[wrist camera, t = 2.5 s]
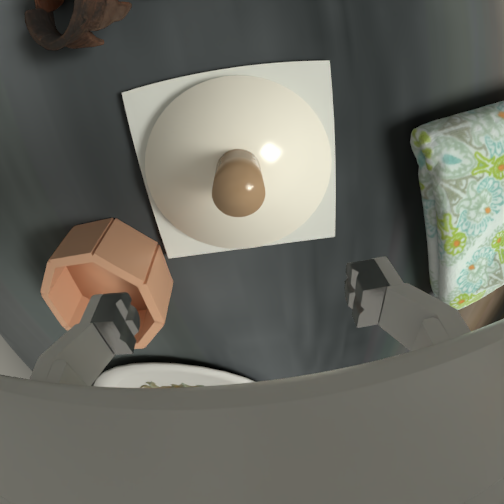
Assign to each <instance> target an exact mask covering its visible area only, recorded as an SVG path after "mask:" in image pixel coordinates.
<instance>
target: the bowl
mask: <svg viewBox="0 0 504 504" xmlns="http://www.w3.org/2000/svg"><path fill="white" fill-rule="evenodd" d="M157 244H158V242H156V241H154V240H153V239H151V238H149V237H147V236H146V235H144V234H142V233H140V232H139V231H137V230H135V229H134V228H132V227H130V226H128V225H127V224H125V223H123V222H122V221H120V220H118V219H117V218H116V219H115V220H114V219H113V218H109V219H104V220H99V221H94V222H90V223H85V224H81V225H76V226H74V227H73V228H72V229H71V230H70V231H69V233H68V234H67V235H66V237H65V238H64V239H63V241H62V242H61V243H60V245H59V246H58V247H57V249H56V250H55V252H54V253H53V254H52V256H51V257H50V259H49V260H48V262H47V266H46V270H45V274H44V278H43V283H42V287H41V292H40V293H42V294H41V295H42V297H43V299H44V300H45V302H46V303H47V305H48V306H49V308H50V309H51V311H52V312H53V314H54V315H55V317H56V318H57V319H58V321H59V322H60V324H61V325H62V326H63V327H65V329H66V330H70V329H71V328H72V327H73V326H74V325H75V324H79V323H80V320H81V318H82V316H83V314H84V311H85V309H86V307H87V305H88V303H89V301H90V298H91V296H93V295H97V294H107V293H120V292H126V293H128V294H129V295H130V297H131V299H132V301H131V305H132V306H134V307H135V308H136V309H137V311H138V313H139V317H140V328H139V332H138V333H137V334H136V335H135V336H134V337H135V339H136V344H135V348H134V349H143V347H144V348H145V347H146V346H147V345H148V344H149V342H150V341H151V340H152V339H153V338H154V336H155V335H156V334H157V333H158V332H159V330H160V329H161V328H162V327H163V326H164V324H165V319H166V314H167V309H168V305H169V300H170V295H171V291H172V286H173V280H172V278H171V275H170V272H169V269H168V267H167V264H166V261H165V258H164V255H163V253H162V250H161V247H160V245H157Z"/></svg>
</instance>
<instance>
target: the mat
mask: <svg viewBox="0 0 504 504" xmlns="http://www.w3.org/2000/svg"><path fill="white" fill-rule="evenodd" d="M231 75H247V76H255V77H260V78H264V79H267V80H270V81H273V82H276V83H278V84H280V85H282V86H284V87H286V88H288V89H290V90H291V91H293V92H294V93H296V94H297V95H298V96H300V97H301V98H302V99H303V100H304V101H305V102H306V103H307V104H308V105H309V106H310V107H311V108H312V109H313V111H314V112H315V113H316V114H317V116H318V118H319V119H320V121H321V123H322V124H323V126H324V129H325V131H326V134H327V136H328V140H329V144H330V148H331V159H332V162H331V174H330V179H329V184H328V187H327V190H326V192H325V195H324V197H323V199H322V201H321V203H320V204H319V206H318V207H317V209H316V210H315V212H314V213H313V214H312V215H311V216H310V218H309V219H308V220H307V221H306V222H305V223H304V224H302V225H301V226H300V227H299V228H298V229H296V230H295V231H294V232H292V233H291V234H289V235H287V236H285V237H284V238H282V239H280V240H277V241H275V242H273V243H270V244H266V245H274V244H282V243H289V242H297V241H305V240H313V239H320V238H328V237H335V202H336V178H335V135H334V113H333V97H332V83H331V71H330V61H295V62H280V63H268V64H258V65H249V66H241V67H234V68H227V69H220V70H214V71H209V72H203V73H198V74H193V75H188V76H183V77H179V78H174V79H170V80H166V81H162V82H158V83H154V84H150V85H146V86H143V87H139V88H136V89H132V90H129V91H126V92H123V93H122V97H123V101H124V106H125V110H126V115H127V119H128V123H129V127H130V131H131V135H132V139H133V143H134V147H135V151H136V154H137V158H138V162H139V165H140V169H141V172H142V176H143V179H144V183H145V186H146V190H147V193H148V196H149V200H150V203H151V206H152V210H153V213H154V216H155V219H156V222H157V225H158V228H159V231H160V234H161V238H162V240H163V243H164V246H165V249H166V252H167V255H168V258H176V257H183V256H191V255H198V254H206V253H213V252H221V251H228V250H236V249H228V248H221V247H216V246H212V245H208V244H205V243H202V242H200V241H197V240H195V239H193V238H191V237H189V236H187V235H186V234H184V233H183V232H181V231H180V230H178V229H177V228H176V227H175V226H174V225H173V224H171V223H170V222H169V221H168V219H167V218H166V217H165V216H164V215H163V214H162V212H161V211H160V210H159V208H158V207H157V205H156V203H155V201H154V199H153V198H152V195H151V193H150V190H149V187H148V184H147V179H146V174H145V152H146V147H147V143H148V139H149V136H150V134H151V131H152V128H153V127H154V125H155V123H156V121H157V119H158V118H159V116H160V115H161V114H162V112H163V111H164V110H165V108H166V107H167V106H168V105H169V104H170V103H171V102H172V101H173V100H174V99H175V98H177V97H178V96H179V95H181V94H182V93H183V92H185V91H186V90H188V89H190V88H192V87H193V86H195V85H197V84H199V83H202V82H205V81H207V80H210V79H214V78H218V77H222V76H231ZM266 245H263V246H266Z"/></svg>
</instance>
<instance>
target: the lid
mask: <svg viewBox="0 0 504 504" xmlns="http://www.w3.org/2000/svg"><path fill="white" fill-rule="evenodd" d="M331 162H332V159H331V148H330V144H329V140H328V136H327V134H326V131H325V129H324V126H323V124H322V123H321V121H320V119H319V118H318V116H317V114H316V113H315V112H314V111H313V109H312V108H311V107H310V106H309V105H308V104H307V103H306V102H305V101H304V100H303V99H302V98H301V97H300V96H298V95H297V94H296V93H294V92H293V91H291V90H290V89H288V88H286V87H284V86H282V85H280V84H278V83H276V82H273V81H270V80H267V79H264V78H260V77H255V76H247V75H231V76H222V77H218V78H214V79H210V80H207V81H205V82H202V83H199V84H197V85H195V86H193V87H192V88H190V89H188V90H186V91H185V92H183V93H182V94H181V95H179V96H178V97H177V98H175V99H174V100H173V101H172V102H171V103H170V104H169V105H168V106H167V107H166V108H165V110H164V111H163V112H162V114H161V115H160V116H159V118H158V119H157V121H156V123H155V125H154V127H153V128H152V131H151V134H150V136H149V139H148V143H147V147H146V152H145V174H146V179H147V184H148V187H149V190H150V193H151V195H152V198H153V199H154V201H155V203H156V205H157V207H158V208H159V210H160V211H161V212H162V214H163V215H164V216H165V217H166V218H167V219H168V221H169V222H170V223H171V224H173V225H174V226H175V227H176V228H177V229H178V230H180V231H181V232H183V233H184V234H186V235H187V236H189V237H191V238H193V239H195V240H197V241H200V242H202V243H205V244H208V245H212V246H216V247H221V248H228V249H245V248H253V247H259V246H263V245H266V244H270V243H273V242H275V241H277V240H280V239H282V238H284V237H285V236H287V235H289V234H291V233H292V232H294V231H295V230H296V229H298V228H299V227H300V226H301V225H302V224H304V223H305V222H306V221H307V220H308V219H309V218H310V216H311V215H312V214H313V213H314V212H315V210H316V209H317V207H318V206H319V204H320V203H321V201H322V199H323V197H324V195H325V192H326V190H327V187H328V184H329V179H330V174H331Z"/></svg>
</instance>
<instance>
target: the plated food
mask: <svg viewBox="0 0 504 504" xmlns="http://www.w3.org/2000/svg"><path fill="white" fill-rule="evenodd" d="M250 382H255V381H253V380H250V379H248V378H246V377H242V376H239V375H236V374H233V373H229V372H226V371H222V370H217V369H212V368H207V367H203V366H195V365H187V364H179V363H160V362H148V363H132V364H127V365H122V366H116V367H114V368H111V369H109V370H107V371H104V372H103V373H102V374H101V375H99V376H98V377H97V378H96V381H95V383H94V385H93V386H98V387H121V388H178V387H201V386H217V385H230V384H241V383H250Z"/></svg>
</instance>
